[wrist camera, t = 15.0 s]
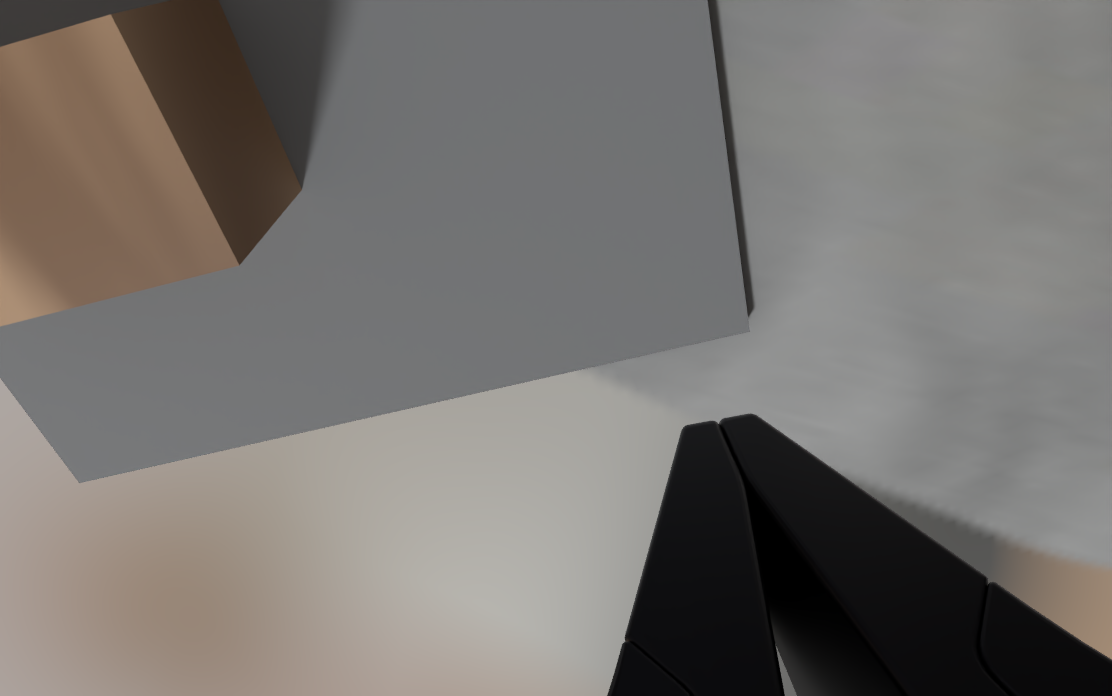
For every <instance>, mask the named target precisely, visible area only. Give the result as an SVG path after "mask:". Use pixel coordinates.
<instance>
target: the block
mask: <svg viewBox="0 0 1112 696" xmlns="http://www.w3.org/2000/svg"><path fill="white" fill-rule="evenodd" d="M301 190H302V189H301V187H300V184H299V182H298V180H297V177H296V175H295V173H294V171H293V168H292V166H291V164H290V162H289V159H288V157H287V155H286V152H285V150H284V148H283V146H282V143H281V141H280V139H279V137H278V134H277V132H276V130H275V127H274V125H273V123H272V121H271V118H270V116H269V114H268V112H267V109H266V107H265V105H264V102H263V100H262V98H261V96H260V93H259V91H258V89H257V87H256V84H255V82H254V80H253V77H252V75H251V73H250V71H249V68H248V66H247V64H246V62H245V59H244V57H243V55H242V52H241V50H240V48H239V46H238V43H237V41H236V39H235V37H234V34H233V32H232V30H231V27H230V25H229V23H228V21H227V18H226V16H225V14H224V12H223V9H222V7H221V5H220V2H219V0H170V1H166V2H161V3H157V4H153V5H149V6H144V7H140V8H136V9H132V10H127V11H123V12H119V13H114V14H110V15H107V16H103V17H100V18H97V19H93V20H90V21H86V22H83V23H80V24H76V25H73V26H69V27H66V28H63V29H59V30H56V31H52V32H49V33H46V34H42V35H39V36H35V37H32V38H29V39H25V40H22V41H18V42H15V43H12V44H8V45H5V46H1V47H0V326H4V325H8V324H12V323H16V322H20V321H24V320H28V319H31V318H35V317H39V316H43V315H47V314H51V313H55V312H59V311H63V310H67V309H71V308H75V307H79V306H83V305H87V304H90V303H94V302H98V301H102V300H106V299H110V298H114V297H118V296H122V295H126V294H130V293H134V292H138V291H142V290H145V289H149V288H153V287H157V286H161V285H165V284H169V283H173V282H177V281H181V280H185V279H189V278H193V277H197V276H200V275H204V274H208V273H212V272H216V271H220V270H224V269H228V268H232V267H236V266H240V264H241V263H242V262H243V261H244V259H245V258H246V257H247V256H248V255H249V253H250V252H251V251H252V250H253V249H254V247H255V246H256V245H257V244H258V242H259V241H260V240H261V239H262V238H263V236H264V235H265V234H266V233H267V232H268V230H269V229H270V228H271V227H272V225H273V224H274V223H275V222H276V221H277V219H278V218H279V217H280V216H281V215H282V213H283V212H284V211H285V210H286V209H287V207H288V206H289V205H290V204H291V202H292V201H293V200H294V199H295V198H296V196H297V195H298V194H299V193H300V192H301Z"/></svg>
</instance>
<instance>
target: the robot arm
mask: <svg viewBox="0 0 1112 696" xmlns="http://www.w3.org/2000/svg"><path fill="white" fill-rule="evenodd" d="M625 641H626V642H624V643H623V644H622V648H621V651H620V655H619V658H618V662H617V666H616V669H615V673H614V676H613V679H612V682H611V686H610V689H609V692H608V695H607V696H785V694H784V689H783V683H782V678H781V672H780V667H779V661H778V657H777V650H776V646H777V648H778V651H779V653H780V656H781V658H782V660H783V663H784V665H785V667H786V670H787V672H788V675H789V677H790V680H791V682H792V684H793V687H794V689H795V692H796V694H797V696H1112V660H1111V659H1110V658H1108V657H1107V656H1105V655H1103V654H1102V653H1100V652H1098V651H1097V650H1095V649H1093V648H1092V647H1090V646H1089V645H1087V644H1085V643H1084V642H1082V641H1081V640H1079V639H1078V638H1076V637H1074V636H1073V635H1072V634H1070V633H1069V632H1067V631H1066V630H1064V629H1063V628H1061V627H1060V626H1058V625H1057V624H1055V623H1054V622H1052V621H1051V620H1049V619H1048V618H1046V617H1045V616H1043V615H1041V614H1040V613H1039V612H1037V611H1036V610H1034V609H1033V608H1031V607H1030V606H1028V605H1027V604H1025V603H1024V602H1023V601H1021V600H1020V599H1018V598H1017V597H1015V596H1014V595H1013V594H1011V593H1010V592H1008V591H1007V590H1005V589H1004V588H1003V587H1001V586H1000V585H998V584H997V583H995V582H990V583H989V584H988V578H987V577H986V576H985V575H984V574H982V573H981V572H979V571H978V570H976V569H975V568H974V567H972V566H971V565H969V564H968V563H966V562H965V561H964V560H962V559H961V558H959V557H958V556H956V555H955V554H954V553H952V552H951V551H949V550H948V549H946V548H945V547H944V546H942V545H941V544H939V543H938V542H936V541H935V540H934V539H932V538H931V537H929V536H928V535H926V534H925V533H923V532H922V531H921V530H919V529H918V528H916V527H915V526H914V525H912V524H911V523H909V522H908V521H907V520H905V519H904V518H902V517H901V516H899V515H898V514H897V513H895V512H894V511H892V510H891V509H889V508H888V507H887V506H885V505H884V504H882V503H881V502H880V501H878V500H877V499H875V498H874V497H872V496H871V495H870V494H868V493H867V492H865V491H864V490H862V489H861V488H859V487H858V486H857V485H855V484H854V483H852V482H851V481H850V480H848V479H847V478H845V477H844V476H842V475H841V474H840V473H838V472H837V471H835V470H834V469H832V468H831V467H830V466H828V465H827V464H825V463H824V462H822V461H821V460H820V459H818V458H817V457H815V456H814V455H813V454H811V453H810V452H808V451H807V450H805V449H804V448H803V447H801V446H800V445H798V444H797V443H795V442H794V441H793V440H791V439H790V438H788V437H787V436H785V435H784V434H783V433H781V432H780V431H778V430H777V429H775V428H774V427H773V426H771V425H770V424H768V423H767V422H765V421H764V420H763V419H761V418H760V417H758V416H757V415H754V414H745V415H739V416H734V417H728V418H724V419H722V420H721V421H720V423H719V424H718V423H717V422H715V421H707V422H701V423H696V424H690V425H686V426H685V427H683V429H682V431H681V435H680V438H679V442H678V445H677V449H676V453H675V456H674V460H673V464H672V467H671V471H670V474H669V478H668V482H667V486H666V489H665V493H664V496H663V500H662V503H661V507H660V511H659V515H658V518H657V522H656V525H655V529H654V533H653V536H652V540H651V543H650V547H649V551H648V554H647V558H646V562H645V565H644V569H643V573H642V576H641V580H640V584H639V587H638V591H637V594H636V598H635V602H634V605H633V609H632V613H631V616H630V620H629V624H628V627H627V631H626V635H625ZM775 644H776V645H775Z"/></svg>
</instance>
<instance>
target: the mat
mask: <svg viewBox="0 0 1112 696" xmlns="http://www.w3.org/2000/svg"><path fill="white" fill-rule="evenodd" d="M166 1H170V0H0V47H1V46H5V45H8V44H12V43H15V42H18V41H22V40H25V39H29V38H32V37H35V36H39V35H42V34H46V33H49V32H52V31H56V30H59V29H63V28H66V27H69V26H73V25H76V24H80V23H83V22H86V21H90V20H93V19H97V18H100V17H103V16H107V15H110V14H114V13H119V12H123V11H127V10H132V9H136V8H140V7H144V6H149V5H153V4H157V3H161V2H166ZM219 2H220V5H221V7H222V9H223V12H224V14H225V16H226V18H227V21H228V23H229V25H230V27H231V30H232V32H233V34H234V37H235V39H236V41H237V43H238V46H239V48H240V50H241V52H242V55H243V57H244V59H245V62H246V64H247V66H248V68H249V71H250V73H251V75H252V77H253V80H254V82H255V84H256V87H257V89H258V91H259V93H260V96H261V98H262V100H263V102H264V105H265V107H266V109H267V112H268V114H269V116H270V118H271V121H272V123H273V125H274V127H275V130H276V132H277V134H278V137H279V139H280V141H281V143H282V146H283V148H284V150H285V152H286V155H287V157H288V159H289V162H290V164H291V166H292V168H293V171H294V173H295V175H296V177H297V180H298V182H299V184H300V187H301V189H302V190H301V192H300V193H299V194H298V195H297V196H296V198H295V199H294V200H293V201H292V202H291V204H290V205H289V206H288V207H287V209H286V210H285V211H284V212H283V213H282V215H281V216H280V217H279V218H278V219H277V221H276V222H275V223H274V224H273V225H272V227H271V228H270V229H269V230H268V232H267V233H266V234H265V235H264V236H263V238H262V239H261V240H260V241H259V242H258V244H257V245H256V246H255V247H254V249H253V250H252V251H251V252H250V253H249V255H248V256H247V257H246V258H245V259H244V261H243V262H242V263H241V264H240V266H236V267H232V268H228V269H224V270H220V271H216V272H212V273H208V274H204V275H200V276H197V277H193V278H189V279H185V280H181V281H177V282H173V283H169V284H165V285H161V286H157V287H153V288H149V289H145V290H142V291H138V292H134V293H130V294H126V295H122V296H118V297H114V298H110V299H106V300H102V301H98V302H94V303H90V304H87V305H83V306H79V307H75V308H71V309H67V310H63V311H59V312H55V313H51V314H47V315H43V316H39V317H35V318H31V319H28V320H24V321H20V322H16V323H12V324H8V325H4V326H0V378H1V380H2V381H3V382H4V384H5V385H6V386H7V388H8V389H9V390H10V391H11V393H12V394H13V396H14V397H15V398H16V400H17V401H18V402H19V404H20V405H21V406H22V407H23V409H24V410H25V412H26V413H27V414H28V416H29V417H30V418H31V419H32V421H33V422H34V423H35V425H36V426H37V427H38V429H39V430H40V431H41V433H42V434H43V435H44V437H45V438H46V439H47V440H48V442H49V443H50V445H51V446H52V447H53V449H54V450H55V451H56V453H57V454H58V455H59V457H60V458H61V459H62V460H63V462H64V463H65V464H66V466H67V467H68V468H69V470H70V471H71V472H72V474H73V475H74V476H75V478H76V479H77V480H78V482H79V483H81V482H86V481H90V480H95V479H99V478H104V477H108V476H112V475H117V474H121V473H125V472H130V471H135V470H138V469H143V468H148V467H152V466H157V465H161V464H165V463H170V462H174V461H178V460H183V459H188V458H192V457H196V456H201V455H205V454H210V453H214V452H218V451H223V450H227V449H232V448H236V447H241V446H245V445H250V444H254V443H258V442H263V441H267V440H271V439H276V438H280V437H285V436H289V435H294V434H298V433H303V432H307V431H311V430H316V429H320V428H325V427H329V426H334V425H338V424H342V423H347V422H351V421H356V420H360V419H365V418H369V417H373V416H377V415H382V414H387V413H391V412H396V411H400V410H404V409H409V408H413V407H418V406H422V405H427V404H431V403H435V402H440V401H444V400H448V399H453V398H457V397H462V396H466V395H471V394H475V393H479V392H484V391H488V390H493V389H497V388H502V387H506V386H511V385H515V384H519V383H524V382H528V381H532V380H537V379H541V378H546V377H550V376H554V375H559V374H564V373H568V372H573V371H577V370H581V369H586V368H590V367H595V366H599V365H603V364H608V363H612V362H617V361H621V360H626V359H630V358H634V357H639V356H643V355H648V354H652V353H657V352H661V351H665V350H670V349H674V348H679V347H683V346H688V345H692V344H696V343H701V342H705V341H710V340H714V339H718V338H723V337H727V336H732V335H736V334H741V333H745V332H749V331H750V330H749V322H748V314H747V306H746V299H745V291H744V283H743V275H742V267H741V259H740V252H739V244H738V236H737V228H736V220H735V212H734V204H733V197H732V189H731V181H730V173H729V165H728V157H727V149H726V142H725V134H724V126H723V118H722V110H721V102H720V95H719V87H718V79H717V71H716V63H715V55H714V47H713V40H712V32H711V24H710V16H709V8H708V0H219Z"/></svg>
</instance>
